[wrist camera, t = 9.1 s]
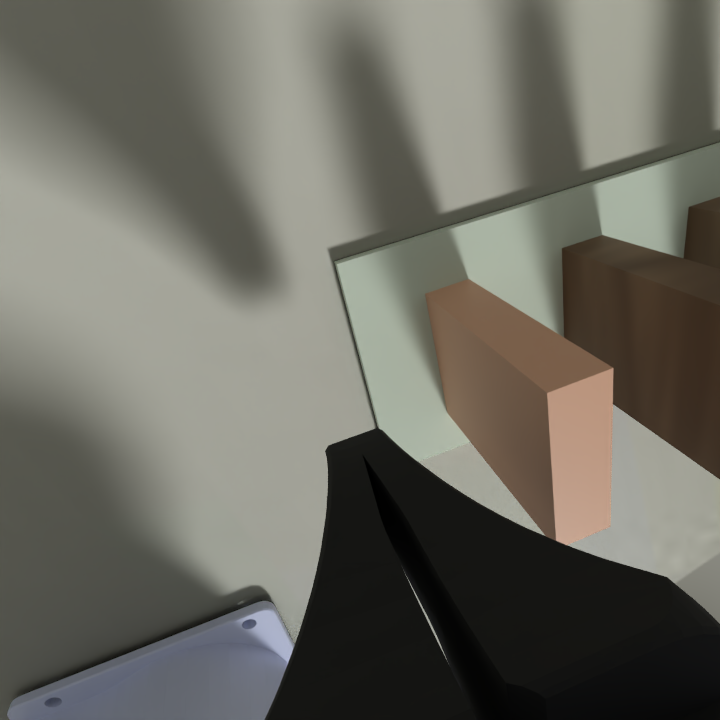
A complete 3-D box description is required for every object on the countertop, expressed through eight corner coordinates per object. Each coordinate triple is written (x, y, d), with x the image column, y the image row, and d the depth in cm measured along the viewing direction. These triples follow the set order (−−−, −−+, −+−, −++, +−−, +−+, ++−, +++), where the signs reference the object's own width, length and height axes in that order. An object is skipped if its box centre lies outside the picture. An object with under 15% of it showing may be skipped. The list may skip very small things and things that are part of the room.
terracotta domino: (447, 413, 16) (556, 549, 11) (425, 293, 14) (547, 393, 9) (485, 399, 16) (610, 526, 11) (468, 279, 14) (613, 367, 9)
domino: (564, 369, 17) (721, 480, 12) (561, 248, 15) (751, 316, 10) (600, 357, 17) (770, 460, 12) (602, 235, 15) (810, 295, 10)
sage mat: (388, 466, 17) (391, 471, 17) (334, 261, 13) (336, 264, 13) (931, 265, 20) (940, 267, 20) (1007, 52, 16) (1020, 51, 16)
